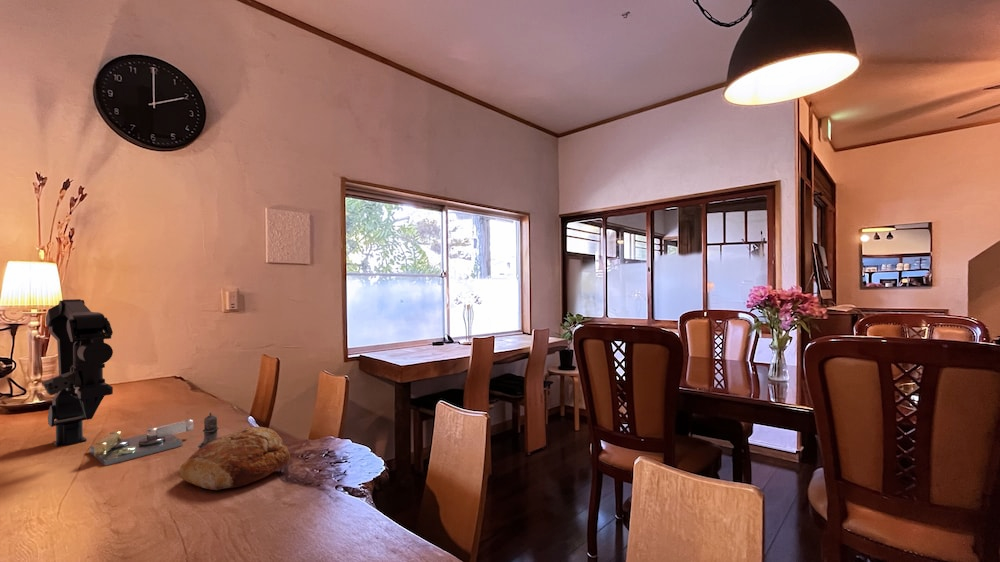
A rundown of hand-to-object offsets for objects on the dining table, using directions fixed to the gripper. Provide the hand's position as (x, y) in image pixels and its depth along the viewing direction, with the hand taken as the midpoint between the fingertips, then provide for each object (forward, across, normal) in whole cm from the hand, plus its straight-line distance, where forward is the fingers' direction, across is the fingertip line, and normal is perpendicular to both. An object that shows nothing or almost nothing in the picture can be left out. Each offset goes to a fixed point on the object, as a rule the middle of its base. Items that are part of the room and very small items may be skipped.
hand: (88, 419), depth 117 cm
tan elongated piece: (+9, -2, +6) cm, 11 cm away
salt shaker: (+11, +25, +20) cm, 34 cm away
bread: (+12, +41, +18) cm, 47 cm away
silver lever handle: (+9, +3, +13) cm, 16 cm away
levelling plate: (+11, +1, +10) cm, 15 cm away
